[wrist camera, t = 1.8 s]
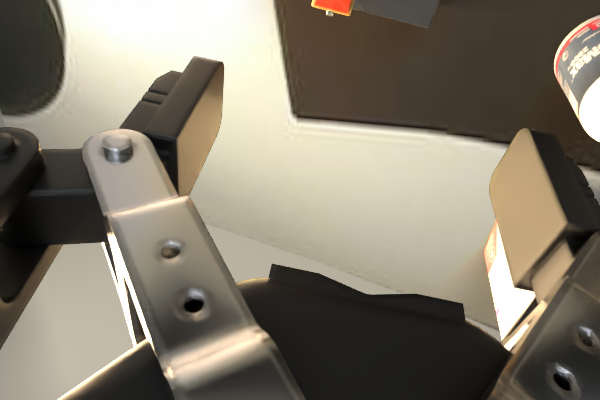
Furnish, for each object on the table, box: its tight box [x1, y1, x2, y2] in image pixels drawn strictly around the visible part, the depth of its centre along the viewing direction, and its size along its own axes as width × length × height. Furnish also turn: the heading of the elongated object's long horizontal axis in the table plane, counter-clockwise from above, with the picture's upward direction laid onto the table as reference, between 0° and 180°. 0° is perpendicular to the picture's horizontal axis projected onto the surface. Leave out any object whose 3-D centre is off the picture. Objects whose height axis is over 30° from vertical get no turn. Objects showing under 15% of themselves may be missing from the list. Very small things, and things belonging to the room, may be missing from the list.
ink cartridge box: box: [484, 221, 535, 339], centre depth 33 cm, size 9×5×15 cm, turn 0°
